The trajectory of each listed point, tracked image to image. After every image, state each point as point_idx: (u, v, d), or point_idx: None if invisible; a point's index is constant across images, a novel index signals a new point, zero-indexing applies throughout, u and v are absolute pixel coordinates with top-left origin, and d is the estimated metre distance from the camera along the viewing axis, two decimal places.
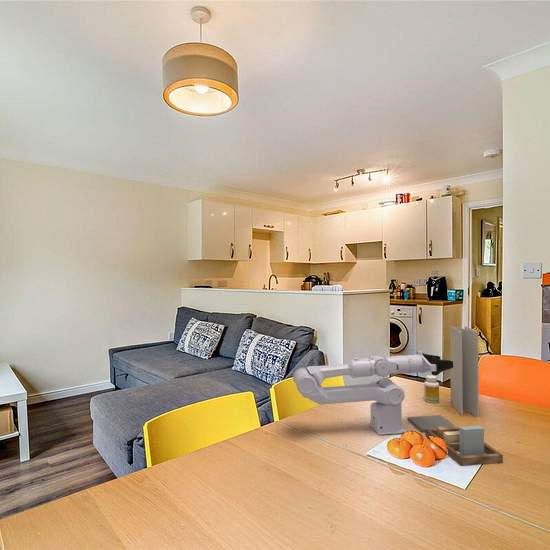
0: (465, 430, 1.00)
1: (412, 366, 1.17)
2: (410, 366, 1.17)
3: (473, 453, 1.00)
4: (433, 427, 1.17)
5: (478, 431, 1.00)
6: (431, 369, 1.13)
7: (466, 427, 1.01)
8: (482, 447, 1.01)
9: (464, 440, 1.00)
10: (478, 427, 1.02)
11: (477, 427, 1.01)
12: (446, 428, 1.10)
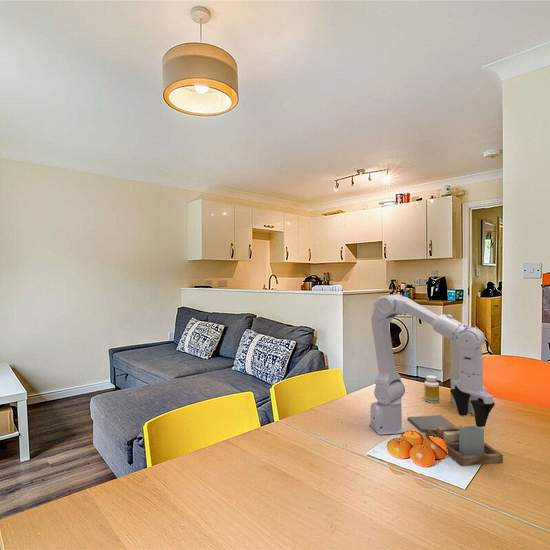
0: (465, 430, 1.00)
1: (477, 377, 0.98)
2: (477, 375, 0.98)
3: (473, 453, 1.00)
4: (433, 427, 1.17)
5: (478, 431, 1.00)
6: (488, 397, 0.94)
7: (466, 427, 1.01)
8: (482, 447, 1.01)
9: (464, 440, 1.00)
10: (478, 427, 1.02)
11: (477, 427, 1.01)
12: (446, 428, 1.10)
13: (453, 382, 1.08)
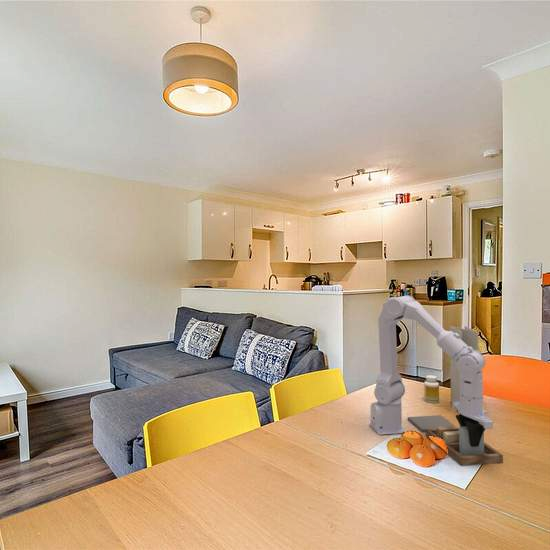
0: (465, 430, 1.00)
1: (477, 401, 0.98)
2: (477, 399, 0.98)
3: (473, 453, 1.00)
4: (433, 427, 1.17)
5: None
6: (488, 422, 0.94)
7: (466, 427, 1.01)
8: (482, 447, 1.01)
9: (464, 440, 1.00)
10: None
11: None
12: (446, 428, 1.10)
13: (453, 404, 1.08)
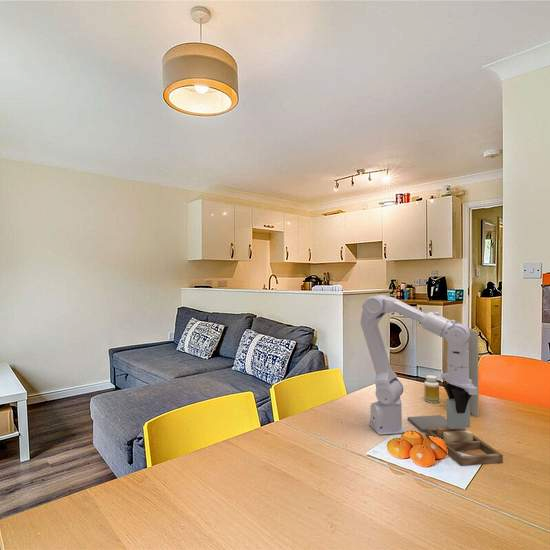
0: (452, 402, 1.06)
1: (463, 370, 1.04)
2: (463, 368, 1.04)
3: (459, 423, 1.06)
4: (433, 427, 1.17)
5: None
6: (472, 389, 1.00)
7: (453, 399, 1.07)
8: (468, 418, 1.06)
9: (451, 411, 1.06)
10: None
11: None
12: (446, 428, 1.10)
13: (442, 375, 1.13)
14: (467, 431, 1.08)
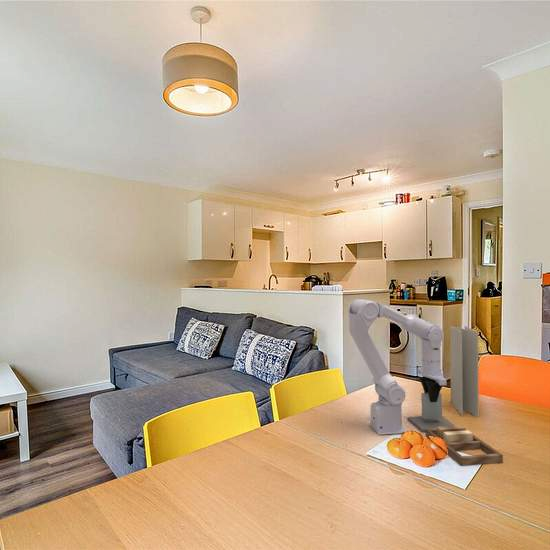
0: (426, 395, 1.21)
1: (435, 364, 1.19)
2: (435, 362, 1.19)
3: (432, 414, 1.21)
4: (433, 427, 1.17)
5: None
6: (442, 380, 1.14)
7: (427, 393, 1.22)
8: (440, 409, 1.21)
9: (425, 404, 1.21)
10: None
11: None
12: (446, 428, 1.10)
13: (418, 369, 1.28)
14: (467, 431, 1.08)
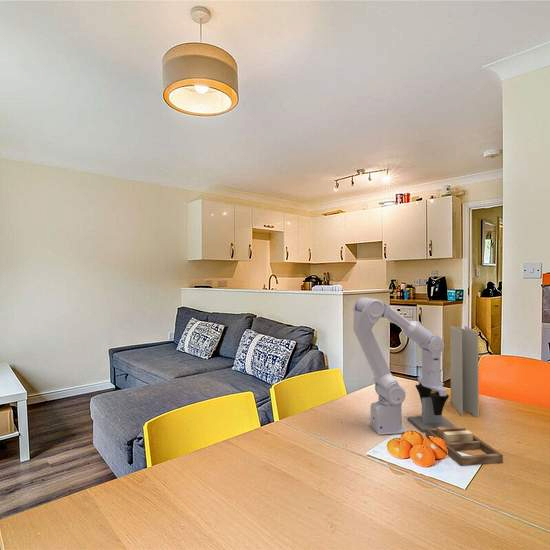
0: (426, 400, 1.21)
1: (435, 374, 1.19)
2: (435, 372, 1.19)
3: (432, 419, 1.21)
4: (433, 427, 1.17)
5: None
6: (442, 391, 1.15)
7: (427, 398, 1.22)
8: None
9: (425, 408, 1.21)
10: None
11: None
12: (446, 428, 1.10)
13: (418, 378, 1.28)
14: (467, 431, 1.08)
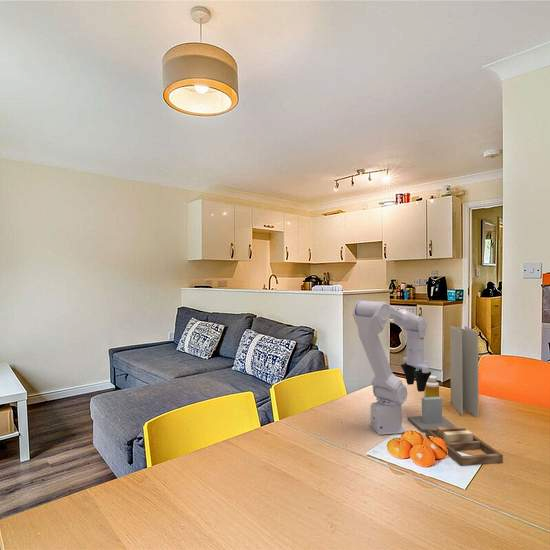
0: (426, 400, 1.21)
1: (418, 353, 1.26)
2: (418, 351, 1.26)
3: (432, 419, 1.21)
4: (433, 427, 1.17)
5: (437, 401, 1.21)
6: (425, 368, 1.21)
7: (427, 398, 1.22)
8: (440, 414, 1.21)
9: (425, 408, 1.21)
10: (437, 397, 1.22)
11: (436, 398, 1.22)
12: (446, 428, 1.10)
13: (403, 358, 1.35)
14: (467, 431, 1.08)
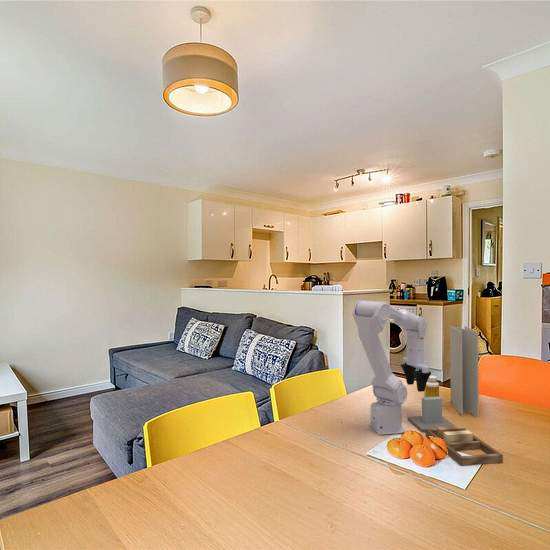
0: (426, 400, 1.21)
1: (418, 353, 1.26)
2: (418, 351, 1.26)
3: (432, 419, 1.21)
4: (433, 427, 1.17)
5: (437, 401, 1.21)
6: (425, 368, 1.21)
7: (427, 398, 1.22)
8: (440, 414, 1.21)
9: (425, 408, 1.21)
10: (437, 397, 1.22)
11: (436, 398, 1.22)
12: (446, 428, 1.10)
13: (403, 358, 1.35)
14: (467, 431, 1.08)
